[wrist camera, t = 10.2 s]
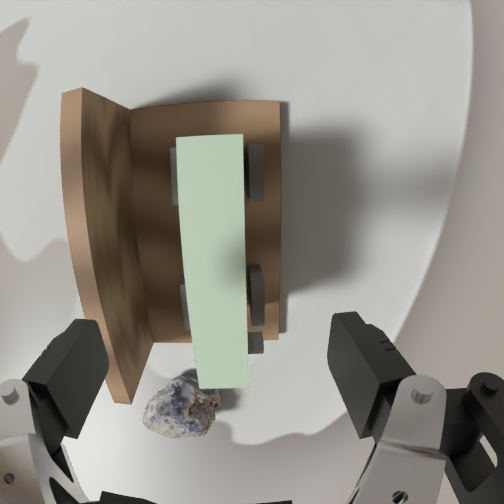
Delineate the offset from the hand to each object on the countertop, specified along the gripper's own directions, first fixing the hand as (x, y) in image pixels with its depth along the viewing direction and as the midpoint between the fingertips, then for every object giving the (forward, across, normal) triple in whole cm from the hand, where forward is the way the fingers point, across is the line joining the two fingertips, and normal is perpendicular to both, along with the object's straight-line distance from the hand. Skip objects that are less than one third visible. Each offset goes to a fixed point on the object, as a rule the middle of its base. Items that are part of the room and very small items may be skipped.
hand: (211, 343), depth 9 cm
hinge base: (+17, +2, 0) cm, 17 cm away
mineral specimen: (+17, +7, +20) cm, 27 cm away
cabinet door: (+16, 0, 0) cm, 16 cm away
